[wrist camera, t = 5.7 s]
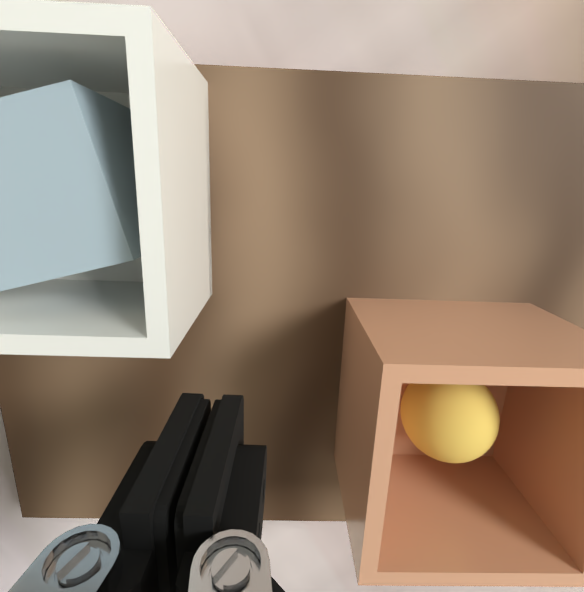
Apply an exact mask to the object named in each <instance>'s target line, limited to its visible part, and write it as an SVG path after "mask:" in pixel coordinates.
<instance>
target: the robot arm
mask: <svg viewBox="0 0 584 592" xmlns="http://www.w3.org/2000/svg"><path fill="white" fill-rule="evenodd" d="M266 470H267V445H244V397H243V395H225V394H224V395H223V396H222V399H221V400H218V399H216V400H215V401H214V404H213V407H212V409H211V401H210V399H204V395H203V394H200V393H182V394H181V396H180V398H179V400H178V402H177V404H176V405H175V407H174V409H173V411H172V413H171V415H170V417H169V419H168V421H167V423H166V425H165V426H164V428H163V430H162V432H161V434H160V436H159V438H158V440H157V441H146V442H144V443H143V445H142V446H141V447H140V449H139V451H138V453H137V454H136V456H135V458H134V460H133V461H132V463H131V465H130V467H129V468H128V470H127V472H126V474H125V475H124V477H123V479H122V481H121V482H120V484H119V486H118V488H117V489H116V491H115V493H114V495H113V496H112V498H111V500H110V502H109V503H108V505H107V507H106V509H105V510H104V512H103V514H102V516H101V517H100V519H99V521H98V523H97V524H88V525H83V526H79V527H76V528H74V529H72V530H69V531H67V532H65V533H64V534H62V535H61V536H59V537H58V538H56V539H55V540H53V541H52V542H51V543H50V544H49V545H48V546H47V547H46V548H45V549H44V550H43V551H42V552H41V553H40V555H39V556H38V557H37V558H36V559H35V560H34V562H33V563H32V564H31V565H30V566H29V568H28V569H27V570H26V571H25V572H24V574H23V575H22V576H21V577H20V578H19V580H18V581H17V582H16V583H15V584H14V585H13V587H12V588H11V589H10V590H9V591H8V592H285V591H284V590H283V589H282V588H281V587H280V586H279V585H278V583H277V582H276V581H275V580H274V579H273V578H272V577H271V571H270V559H269V556H268V552H267V548H266V547H265V545H264V544H263V542H262V541H261V534H262V523H263V513H264V503H265V490H266Z"/></svg>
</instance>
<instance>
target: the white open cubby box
mask: <svg viewBox="0 0 584 592" xmlns="http://www.w3.org/2000/svg"><path fill="white" fill-rule="evenodd" d="M66 80H72V81H74V82H76V83H78V84H80V85H82V86H85V87H87V88H89V89H91V90H93V91H95V92H97V93H99V94H101V95H103V96H105V97H107V98H109V99H111V100H113V101H115V102H117V103H119V104H121V105H123V106H125V107H127V108H130V110H131V124H132V138H133V151H134V165H135V179H136V192H137V206H138V220H139V234H140V247H141V257H139V258H137V259H135V260H133V261H129V262H125V263H120V264H116V265H112V266H107V267H103V268H99V269H94V270H90V271H86V272H82V273H77V274H73V275H69V276H64V277H60V278H56V279H52V280H47V281H43V282H39V283H34V284H30V285H26V286H22V287H17V288H13V289H9V290H4V291H0V354H9V355H49V356H89V357H130V358H171V357H172V355H173V354H174V352H175V350H176V349H177V347H178V346H179V344H180V343H181V341H182V340H183V338H184V337H185V335H186V333H187V332H188V330H189V329H190V327H191V326H192V324H193V323H194V321H195V320H196V318H197V316H198V315H199V313H200V312H201V310H202V309H203V307H204V306H205V304H206V302H207V301H208V299H209V298H210V296H211V295H212V257H211V210H210V162H209V115H208V82H207V81H206V79H205V78H204V77H203V75H202V74H201V73H200V71H199V70H198V69H197V67H196V66H195V65H194V63H193V62H192V61H191V59H190V58H189V57H188V55H187V54H186V53H185V51H184V50H183V49H182V47H181V46H180V45H179V43H178V42H177V41H176V39H175V38H174V37H173V35H172V34H171V33H170V31H169V30H168V29H167V27H166V26H165V25H164V23H163V22H162V21H161V19H160V18H159V16H158V15H157V14H156V12H155V11H154V10H153V8H152V7H151V6H141V5H122V4H103V3H84V2H66V1H47V0H0V97H4V96H8V95H12V94H16V93H20V92H23V91H27V90H31V89H35V88H39V87H43V86H47V85H51V84H55V83H59V82H63V81H66Z"/></svg>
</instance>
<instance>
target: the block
mask: <svg viewBox="0 0 584 592" xmlns="http://www.w3.org/2000/svg"><path fill="white" fill-rule="evenodd" d="M139 257H141V247H140V234H139V220H138V206H137V192H136V179H135V165H134V151H133V138H132V124H131V110H130V108H127V107H125V106H123V105H121V104H119V103H117V102H115V101H113V100H111V99H109V98H107V97H105V96H103V95H101V94H99V93H97V92H95V91H93V90H91V89H89V88H87V87H85V86H82V85H80V84H78V83H76V82H74V81H72V80H66V81H63V82H59V83H55V84H51V85H47V86H43V87H39V88H35V89H31V90H27V91H23V92H20V93H16V94H12V95H8V96H4V97H0V291H4V290H9V289H13V288H17V287H22V286H26V285H30V284H34V283H39V282H43V281H47V280H52V279H56V278H60V277H64V276H69V275H73V274H77V273H82V272H86V271H90V270H94V269H99V268H103V267H107V266H112V265H116V264H120V263H125V262H129V261H133V260H135V259H137V258H139Z"/></svg>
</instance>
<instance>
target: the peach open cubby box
mask: <svg viewBox="0 0 584 592" xmlns="http://www.w3.org/2000/svg"><path fill="white" fill-rule="evenodd" d="M409 383H415V384H458V385H486V387H487V388H488V389H489V390H490V392H491V393H492V395H493V397H494V399H495V401H496V403H497V406H498V409H499V415H500V426H499V431H498V435H497V437H496V440H495V441H494V443H493V445H492V446H491V447H490V449H489V450H488V451H487V452H486V453H484V454H483V455H482V456H480V457H479V458H477V459H475V460H472V461H469V462H465V463H447V462H442V461H439V460H436V459H434V458H432V457H430V456H428V455H426V454H425V453H423V452H422V451H421V450H420V449H418V448H417V447H416V446H415V445H414V443H413V442H412V441H411V440H410V438H409V437H408V435H407V433H406V431H405V429H404V426H403V424H402V420H401V412H400V410H401V400H402V397H403V394H404V391H405V389H406V388H407V386H408V385H409ZM334 459H335V464H336V469H337V475H338V480H339V485H340V491H341V496H342V501H343V507H344V512H345V518H346V523H347V528H348V534H349V539H350V544H351V550H352V555H353V560H354V566H355V571H356V577H357V582H358V585H392V586H549V587H584V329H582V328H580V327H578V326H576V325H574V324H572V323H570V322H568V321H566V320H564V319H562V318H560V317H558V316H556V315H553V314H551V313H549V312H547V311H545V310H543V309H541V308H539V307H537V306H535V305H533V304H531V303H509V302H475V301H442V300H409V299H376V298H347V300H346V312H345V325H344V337H343V349H342V362H341V374H340V386H339V399H338V411H337V423H336V436H335V448H334Z"/></svg>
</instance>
